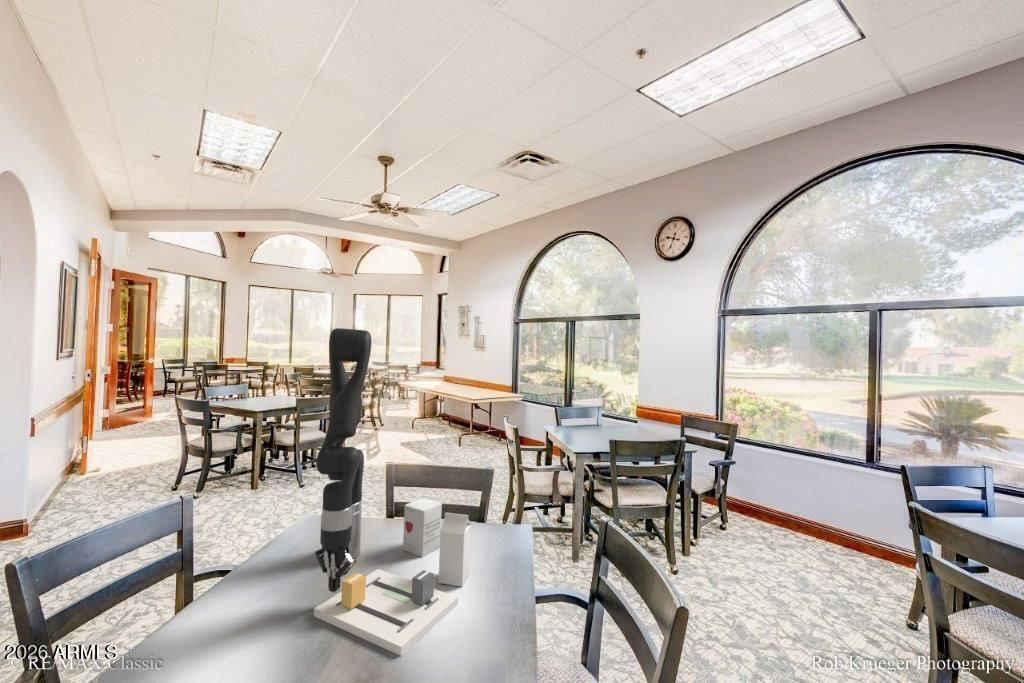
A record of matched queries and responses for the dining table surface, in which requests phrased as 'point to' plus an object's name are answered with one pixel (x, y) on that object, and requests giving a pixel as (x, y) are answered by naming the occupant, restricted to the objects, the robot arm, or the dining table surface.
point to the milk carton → (454, 549)
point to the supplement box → (422, 526)
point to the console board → (388, 612)
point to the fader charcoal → (422, 587)
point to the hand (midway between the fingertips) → (334, 590)
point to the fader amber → (353, 590)
